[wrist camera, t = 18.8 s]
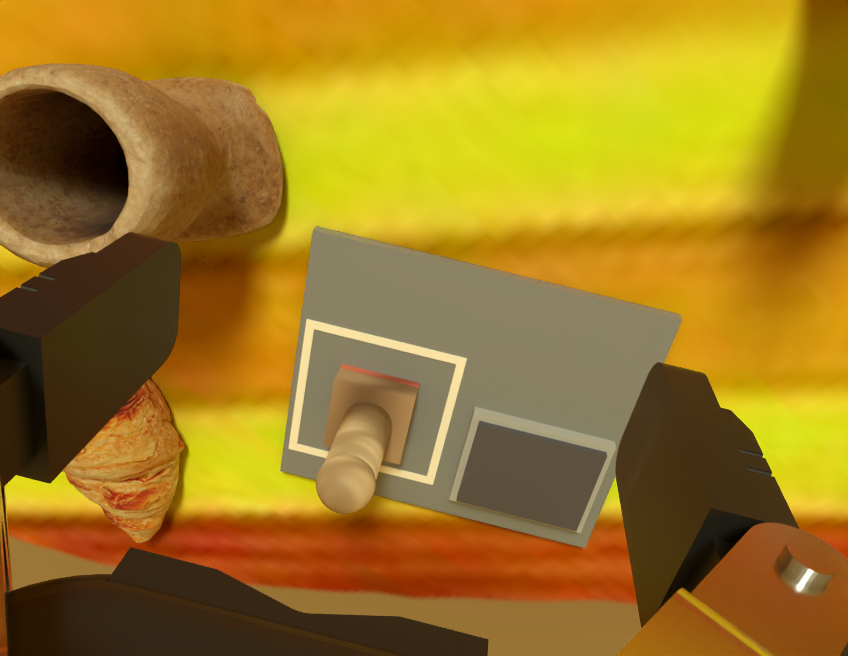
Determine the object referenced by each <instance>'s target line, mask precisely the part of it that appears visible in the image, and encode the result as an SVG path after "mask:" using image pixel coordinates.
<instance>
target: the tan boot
mask: <svg viewBox="0 0 848 656" xmlns="http://www.w3.org/2000/svg"><path fill="white" fill-rule="evenodd" d="M282 192H283V165H282V159H281V154H280V150H279V146H278V142H277V139H276V135H275V132H274V129H273V126H272V123H271V121H270V119H269V117H268V115H267V114H266V113H265V111H264V110H263V109H262V108H261V107H260V106H258V105H257V104H256V100H255V97H254V95H253V94H252V93H251V91H250V90H249V89H247V88H246V87H244V86H242V85H240V84H237V83H233V82H230V81H226V80H220V79H212V78H198V77H180V78H169V79H160V80H151V81H145V82H144V81H142V80H141V79H139V78H137V77H135V76H132V75H130V74H127V73H125V72H122V71H120V70H117V69H112V68H106V67H100V66H95V65H84V64H44V65H36V66H29V67H22V68H18V69H15V70H12V71H10V72H8V73H6V74H4V75H3V76H1V77H0V245H1V246H3V247H4V248H6V249H7V250H9V251H10V252H12V253H13V254H14V255H16V256H18V257H20V258H22V259H24V260H26V261H29V262H31V263H33V264H36V265H38V266H41V267H45V268H49V267H51V266H53V265H54V264H56V263H58V262H59V261H61V260H64V259H68V258H71V257H75V256H79V255H82V254H86V253H90V252H95V253H97V252H98V251H100V250H101V249H103V248H104V247H106V246H108V245H109V244H111V243H112V242H114V241H115V240H117V239H118V238H120V237H122V236H123V235H125V234H126V233H128V232H134V233H138V234H142V235H146V236H150V237H155V238H159V239H163V240H167V241H171V242H175V243H179V242H191V241H201V240H209V239H215V238H221V237H228V236H234V235H239V234H244V233H248V232H251V231H254V230H256V229H259V228H261V227H263V226H265V225H267V224H269V223H271V222H272V221H273V220H274V218H275V217H276V215H277V213H278V210H279V208H280V205H281V199H282Z"/></svg>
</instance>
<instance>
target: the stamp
mask: <svg viewBox="0 0 848 656" xmlns="http://www.w3.org/2000/svg"><path fill="white" fill-rule="evenodd" d="M419 384H420V383H418V382H414V381H410V380H406V379H402V378H398V377H394V376H390V375H386V374H382V373H378V372H373V371H369V370H365V369H361V368H357V367H353V366H349V365H345V364H341V366H340V369H339V371H338V373H337V375H336V377H335V379H334V383H333V389H332V395H331V401H330V407H329V413H328V418H327V424H326V430H325V436H324V442H323V446H327V447H331V448H330V450H329V453H328V455H327V457H326V460H325V462H324V464H323V465H322V467H321V468H320V470H319V472H318V475H317V479H316V489H317V493H318V496H319V498H320V500H321V501H322V503H323V504H324V505H325V506H326V507H327V508H329V509H330V510H332V511H334V512H337V513H342V514H349V513H354V512H356V511H359V510H360V509H362V508H363V507H365V506H366V505H367V504H368V503H369V501H370V500H371V498H372V497H373V494H374V491H375V487H376V479H377V476H378V473H379V469H380V466H381V463H382V460H383V461H387V462H391V463H395V464H399V465H400V462H401V458H402V455H403V451H404V447H405V443H406V439H407V435H408V430H409V426H410V422H411V418H412V414H413V409H414V405H415V401H416V397H417V393H418V389H419Z"/></svg>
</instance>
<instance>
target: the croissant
mask: <svg viewBox="0 0 848 656" xmlns="http://www.w3.org/2000/svg"><path fill="white" fill-rule="evenodd" d="M184 448H185V444H184V442H183V441H182V440H181V439H180V437H179V435H178V433H177V431H176V430H175V428H174V427H173V425H172V424H171V416H170V410H169V408H168V406H167V404H166V401H165V399H164V398H163V396H162V394H161V392H160V391H159V390H158V388H157V387H156V385H155V384H154V383H153V382H152V381H151V380H150V379H148V380H147V381H146V383H145V384H144V385H143V386H142V387H141V388H140V389H139V390H138V391H137V392H136V393H135V394H134V395H133V396H132V397H131V398H130V399H129V401H128V402H127V403H126V404H125V405H124V406H123V407H122V408H121V409H120V410H119V411H118V412H117V413H116V414H115V415H114V416H113V417H112V419H111V420H110V421H109V422H108V423H107V424H106V425H105V426H104V427H103V428H102V429H101V430H100V431H99V432H98V433H97V434H96V436H95V437H94V438H93V439H92V440H91V441H90V442H89V443H88V444H87V445H86V446H85V447H84V448H83V449H82V450H81V451H80V452H79V454H78V455H77V456H76V457H75V458H74V459H73V460H72V461H71V462H70V463H69V464H68V465H67V466H66V467H65V468H64V469H63V470H62V471H64V472H65V473H66V477H67V479H68V481H69V482H70V483H71V484H72V485H74V487H75V488H76V489H77V490H78V491H80V492H81V493H82V494H83V495H85V496H86V497H87V498H88V499H89V500H91V501H93V502H94V503H96V504H98V505H100V506H101V507H102V509H103V511H104V513H105V515H106V517H107V518H108V519H109V521H111V522H112V523H113V524H115V525H116V526H118V527H120V528H121V529H123V530H125V531H126V532H127V533H128V534H129V536H130V537H131V538H132V539H133V540H134V541H135V542H136V543H141V542H144V541H147V540H149V539H151V538H152V537H153V536H154V534H155V533H156V532H157V531H158V530H159V529H160V528H161V525H162V522H163V519H164V516H165V514H166V512H167V510H168V509H169V507H170V505H171V503H172V499H173V497H174V495H175V493H176V487H177V484H178V479H179V464H180V452H182V450H183V449H184Z"/></svg>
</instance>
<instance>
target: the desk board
mask: <svg viewBox="0 0 848 656" xmlns="http://www.w3.org/2000/svg"><path fill="white" fill-rule="evenodd" d="M681 321H682V319H681V316H680V314H676V313H672V312H668V311H663V310H659V309H655V308H651V307H647V306H643V305H639V304H635V303H631V302H626V301H622V300H618V299H614V298H610V297H606V296H602V295H598V294H594V293H589V292H585V291H581V290H577V289H573V288H569V287H565V286H561V285H557V284H552V283H548V282H544V281H540V280H536V279H532V278H528V277H524V276H519V275H515V274H511V273H507V272H503V271H499V270H495V269H491V268H487V267H482V266H478V265H474V264H470V263H466V262H462V261H458V260H454V259H450V258H445V257H441V256H437V255H433V254H429V253H425V252H421V251H417V250H413V249H408V248H404V247H400V246H396V245H392V244H388V243H384V242H380V241H375V240H371V239H367V238H363V237H359V236H355V235H351V234H347V233H343V232H338V231H334V230H330V229H326V228H322V227H318V226H316V227H315V228H314V230H313V234H312V242H311V249H310V256H309V264H308V271H307V278H306V286H305V293H304V300H303V308H302V315H301V323H300V330H299V337H298V345H297V352H296V359H295V367H294V374H293V381H292V389H291V396H290V404H289V411H288V418H287V426H286V433H285V440H284V448H283V455H282V462H281V470H280V471H282V472H286V473H290V474H294V475H298V476H302V477H306V478H310V479H314V480H316V479H317V475H318V472H319V470H320V468H321V467H322V465H323V464H324V462H325V460H326V457H327V455H328V453H329V450H330V448H331V447H327V446H323V442H324V436H325V430H326V424H327V418H328V413H329V407H330V401H331V395H332V389H333V383H334V379H335V377H336V375H337V373H338V371H339V369H340V366H341V364H345V365H349V366H353V367H357V368H361V369H365V370H369V371H373V372H378V373H382V374H386V375H390V376H394V377H398V378H402V379H406V380H410V381H414V382H418V383H420V384H419V389H418V393H417V397H416V401H415V405H414V409H413V414H412V418H411V422H410V426H409V430H408V435H407V439H406V443H405V447H404V451H403V455H402V458H401V462H400V465H399V464H395V463H391V462H387V461H383V460H382V463H381V466H380V469H379V473H378V476H377V479H376V487H375V491H374V494H373V495H377V496H381V497H385V498H389V499H393V500H397V501H400V502H404V503H408V504H412V505H416V506H420V507H424V508H428V509H432V510H436V511H440V512H444V513H448V514H452V515H456V516H460V517H464V518H468V519H472V520H476V521H479V522H483V523H487V524H491V525H495V526H499V527H503V528H507V529H511V530H515V531H519V532H523V533H527V534H531V535H535V536H539V537H543V538H547V539H551V540H555V541H558V542H562V543H566V544H570V545H574V546H578V547H582V548H585V547H586V544H587V542H588V540H589V537H590V535H591V533H592V530H593V528H594V525H595V523H596V521H597V518H598V516H599V514H600V511H601V509H602V507H603V504H604V502H605V500H606V497H607V495H608V493H609V490H610V488H611V486H612V483H613V481H614V479H615V476H616V473H615V467H616V457H617V452H618V448H619V444H620V441H621V438H622V436H623V433H624V431H625V428H626V426H627V424H628V421H629V419H630V416H631V414H632V412H633V409H634V407H635V404H636V402H637V400H638V397H639V395H640V392H641V390H642V388H643V385H644V383H645V380H646V378H647V376H648V374H649V372H650V370H651V368H652V367H653V366H654V365H655V364H656V363H657V362H660V363H664V361H665V359H666V357H667V354H668V352H669V349H670V347H671V345H672V342H673V340H674V338H675V335H676V333H677V331H678V328H679V326H680V324H681Z"/></svg>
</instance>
